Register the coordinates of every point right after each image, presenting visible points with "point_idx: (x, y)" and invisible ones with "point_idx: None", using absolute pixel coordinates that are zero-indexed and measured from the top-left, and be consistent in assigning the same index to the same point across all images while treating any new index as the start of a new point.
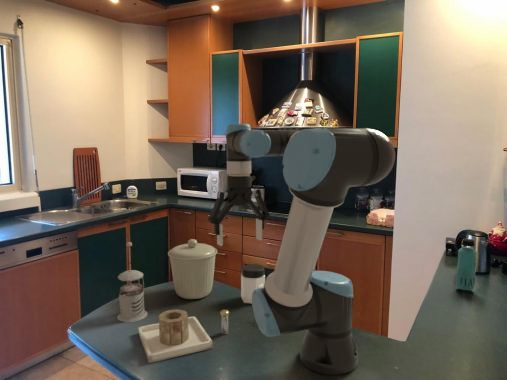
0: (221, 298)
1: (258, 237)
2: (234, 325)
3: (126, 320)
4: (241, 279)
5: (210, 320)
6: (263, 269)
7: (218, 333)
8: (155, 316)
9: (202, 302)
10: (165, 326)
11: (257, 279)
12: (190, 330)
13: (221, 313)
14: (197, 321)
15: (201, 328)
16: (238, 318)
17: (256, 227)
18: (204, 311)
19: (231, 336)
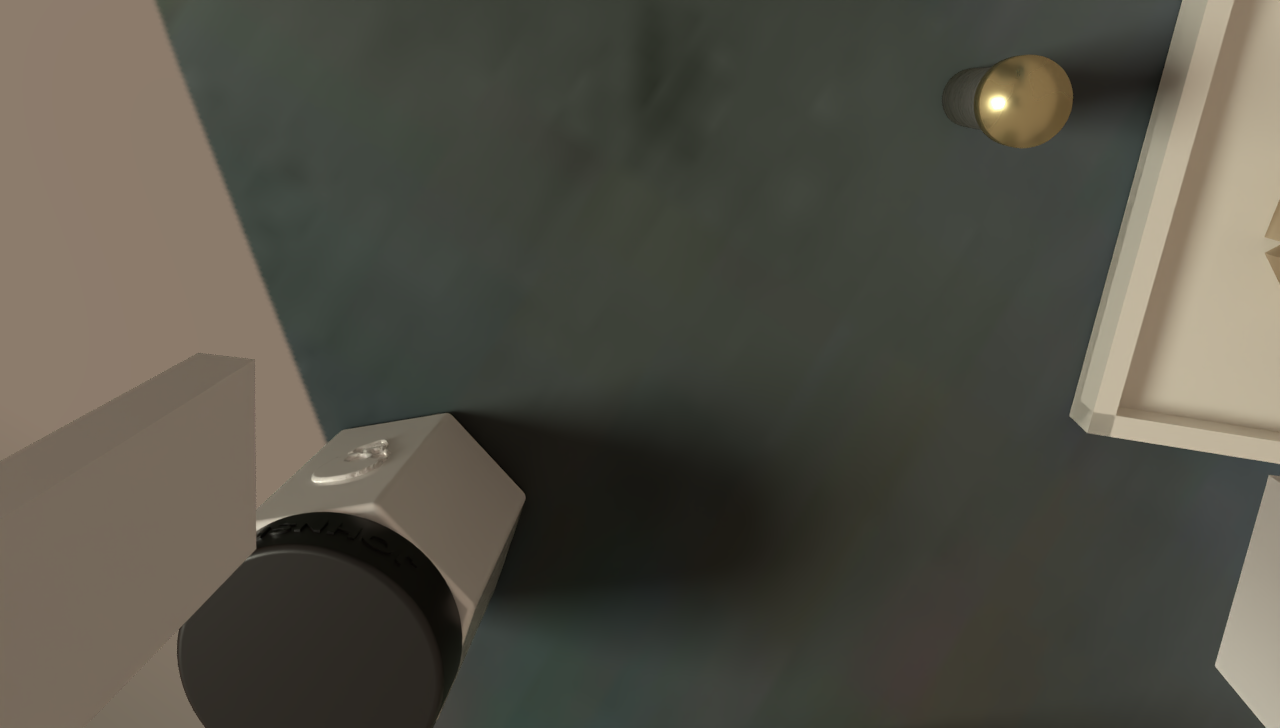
0: (644, 674)
1: (229, 460)
2: (828, 172)
3: None
4: (458, 669)
5: (946, 368)
6: None
7: None
8: None
9: (821, 695)
10: None
11: (358, 501)
12: (1208, 273)
13: (1071, 89)
14: (1127, 325)
15: (1173, 185)
16: (727, 266)
17: (98, 685)
18: (897, 540)
19: (960, 10)
